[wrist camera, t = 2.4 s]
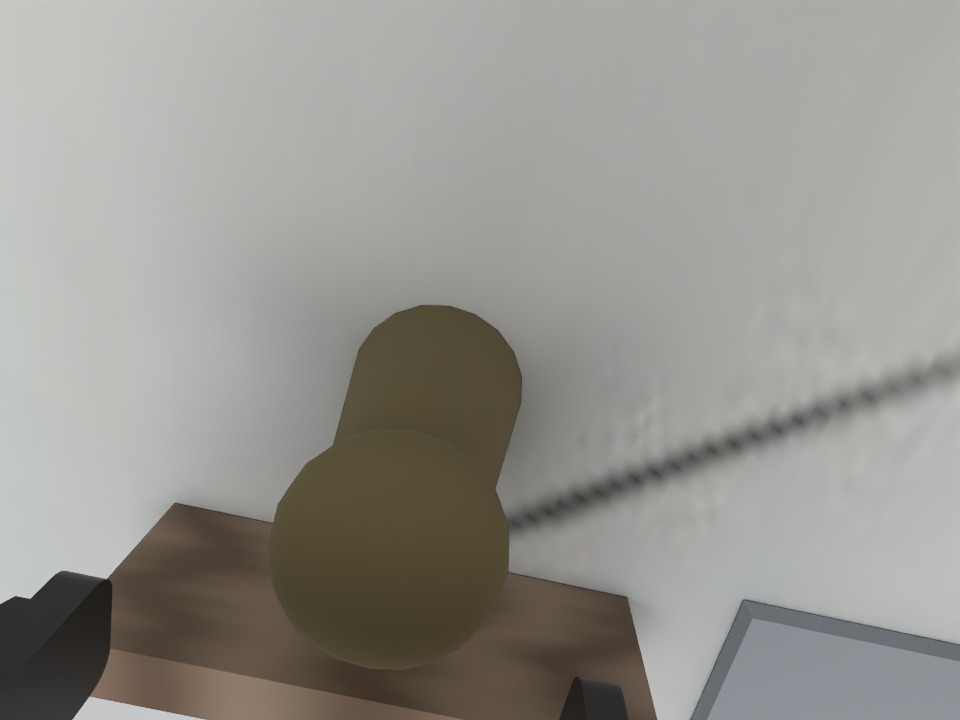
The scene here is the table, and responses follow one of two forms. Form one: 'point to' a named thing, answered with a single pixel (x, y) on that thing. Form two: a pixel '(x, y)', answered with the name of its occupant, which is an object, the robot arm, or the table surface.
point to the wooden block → (316, 674)
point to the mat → (828, 671)
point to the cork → (404, 497)
